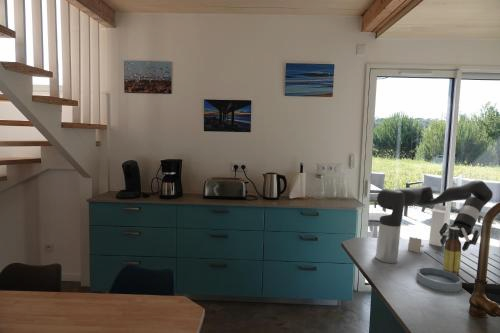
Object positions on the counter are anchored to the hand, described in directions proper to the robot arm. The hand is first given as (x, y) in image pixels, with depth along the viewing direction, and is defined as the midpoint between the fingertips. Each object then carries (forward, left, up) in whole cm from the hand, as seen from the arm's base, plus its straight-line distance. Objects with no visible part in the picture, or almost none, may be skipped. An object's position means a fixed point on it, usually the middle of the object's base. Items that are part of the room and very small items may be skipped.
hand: (452, 246), depth 144 cm
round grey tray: (+9, -12, -12) cm, 19 cm away
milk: (-39, +21, -12) cm, 46 cm away
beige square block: (-27, +1, -12) cm, 30 cm away
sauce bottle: (-1, +1, -12) cm, 12 cm away
